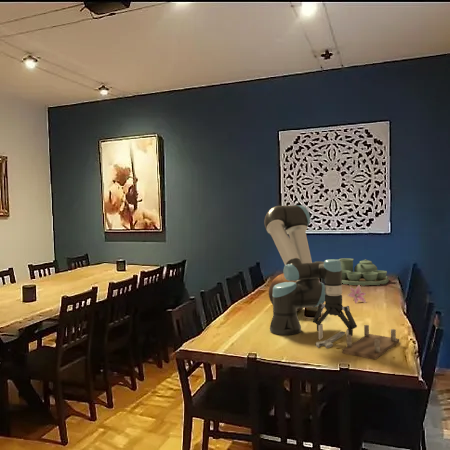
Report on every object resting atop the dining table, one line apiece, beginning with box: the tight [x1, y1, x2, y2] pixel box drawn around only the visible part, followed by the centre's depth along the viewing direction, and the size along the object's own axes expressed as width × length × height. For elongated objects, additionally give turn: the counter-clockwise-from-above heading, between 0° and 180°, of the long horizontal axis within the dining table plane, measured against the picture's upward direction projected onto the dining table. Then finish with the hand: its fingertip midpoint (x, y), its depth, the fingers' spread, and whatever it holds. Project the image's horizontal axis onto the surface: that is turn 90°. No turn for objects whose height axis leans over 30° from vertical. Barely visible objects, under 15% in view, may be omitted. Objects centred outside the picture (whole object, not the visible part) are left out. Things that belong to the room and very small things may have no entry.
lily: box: [346, 285, 367, 304], centre depth 285 cm, size 12×12×10 cm
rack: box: [341, 324, 400, 360], centre depth 197 cm, size 14×27×6 cm, turn 140°
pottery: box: [268, 273, 304, 312], centre depth 265 cm, size 23×23×25 cm
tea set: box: [338, 257, 390, 287], centre depth 353 cm, size 40×40×16 cm
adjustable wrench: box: [315, 330, 346, 349], centre depth 208 cm, size 25×6×2 cm, turn 139°
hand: (334, 341), depth 207 cm, fingers open, 13 cm apart
